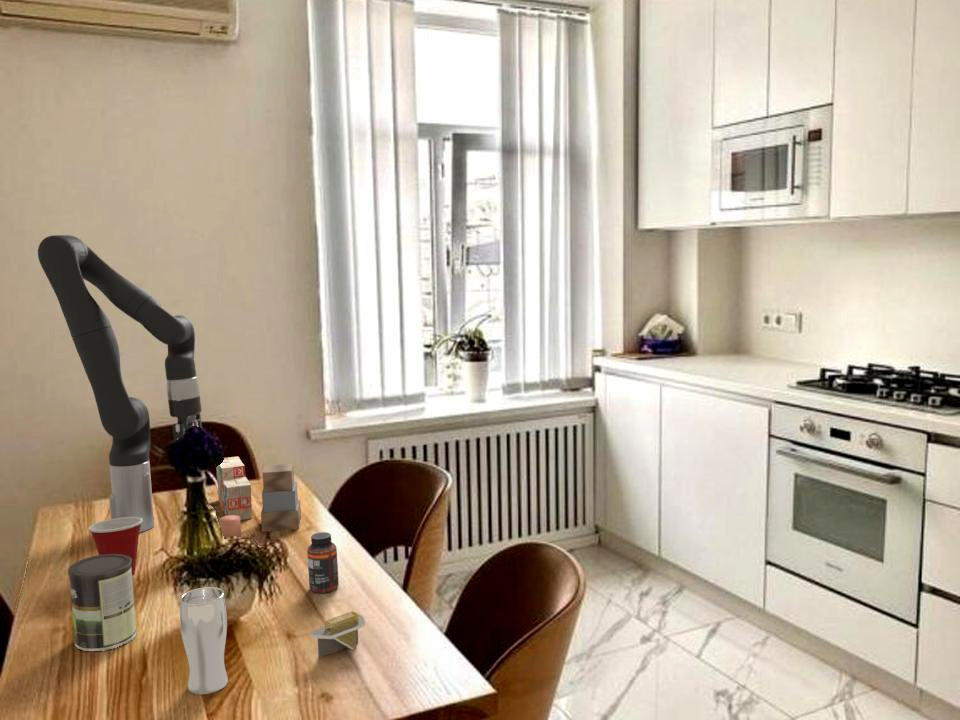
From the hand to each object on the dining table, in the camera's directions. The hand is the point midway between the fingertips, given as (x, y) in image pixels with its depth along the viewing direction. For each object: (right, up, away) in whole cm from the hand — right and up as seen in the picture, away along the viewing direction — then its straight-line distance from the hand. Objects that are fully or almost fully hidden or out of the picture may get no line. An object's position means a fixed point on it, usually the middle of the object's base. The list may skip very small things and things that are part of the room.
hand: (191, 459), depth 204 cm
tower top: (+22, -7, +1) cm, 23 cm away
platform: (+49, -26, -65) cm, 85 cm away
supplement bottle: (+41, -22, -38) cm, 60 cm away
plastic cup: (-5, -22, -29) cm, 36 cm away
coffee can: (+5, -25, -58) cm, 64 cm away
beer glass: (+29, -27, -75) cm, 85 cm away
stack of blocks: (+6, -16, +16) cm, 23 cm away
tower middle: (+22, -12, +2) cm, 25 cm away
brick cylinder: (+13, -19, -10) cm, 25 cm away
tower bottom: (+22, -17, +3) cm, 28 cm away
